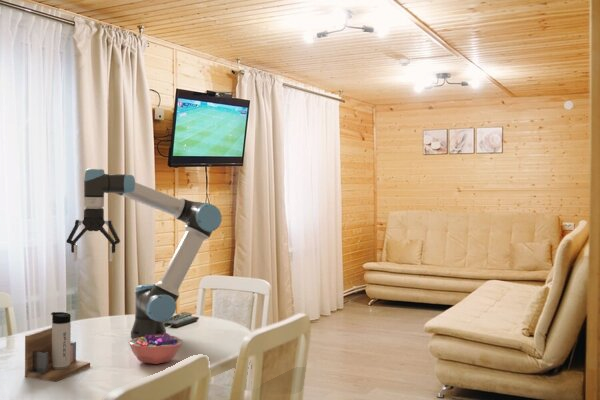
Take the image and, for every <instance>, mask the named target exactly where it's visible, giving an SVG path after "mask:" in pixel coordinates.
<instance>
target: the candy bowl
mask: <svg viewBox="0 0 600 400" xmlns="http://www.w3.org/2000/svg"><path fill="white" fill-rule="evenodd" d="M182 342H183V339H181V338H179V337H177V336H175V335H170V334H169V333H167V332H166V333H164V334H163V335H155V334H154V335H153V334H152V335H151V336H148V335H145V337H138V338H135V339H131V340H129V341H128V345H129V346H130V350H131V351H132V353H133V355H134V357H135V358H136V359H137V360H138V361H139V362H141V363H144V364H150V365H151V364H153V365H159V364H163V363H164V364H165V363H167V362H169V361H171V360H173V359H174V358H175V356H176V355H177V353H178V352H179V349H180V348H181V346H182Z"/></svg>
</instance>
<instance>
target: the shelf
mask: <svg viewBox="0 0 600 400" xmlns="http://www.w3.org/2000/svg"><path fill="white" fill-rule="evenodd" d="M24 338H25V340H24V377H26V378H32V379H38V380H44V381H49V382H50V381H51V382H56V383H57V382H59V381H61V380H63V379H66V378H68V377H70V376H72V375H75V374H76V373H79V372H81V371H83V370H86V369H87V368H88V369H89V368H90V367H91V362H89V361H82V360H77V359H76V361H73V362H71V363H70V367H69V368H68V369H64V370H54V369H52V326H50V327H48V328H44V329H42V330H39V331H35V332H33V333H29V334H26V335H25V336H24ZM35 350H36V351H43V352H48V372H47V373H44V374H42V375H39V374H33V373H28V371H30V370H32V369H33V351H35Z"/></svg>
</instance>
